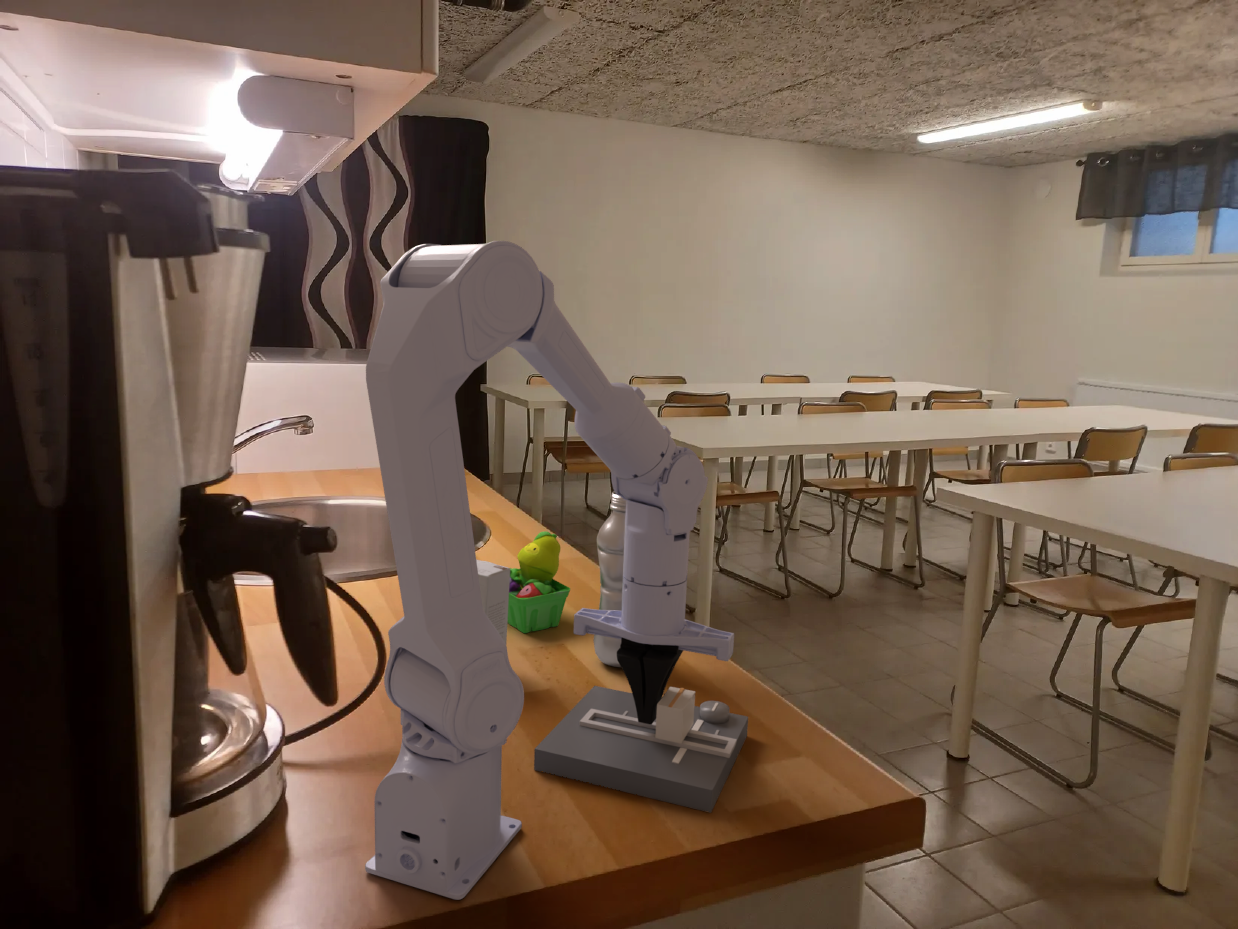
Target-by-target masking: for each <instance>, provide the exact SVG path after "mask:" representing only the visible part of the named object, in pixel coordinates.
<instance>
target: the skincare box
mask: <svg viewBox="0 0 1238 929" xmlns="http://www.w3.org/2000/svg"><path fill="white" fill-rule="evenodd" d="M476 561H477V569H478V577H479V584H480V592H481V599H482V607H483V610H484V612H485V613H486V615H487V617H488V618H489V620H490V621H491V623H492V624H493V625H494V627H495V628H496V630H497V631H498V633H499V634H500V636H501V637H502V639H503V640H504V642H505V644H506V645H507V642H508V640H507V638H508V601H509V582H510V568H511V567H507V566H504V565H500V564H496V563H494V562H490V561H488V560H487V561H486V560H480V559H477V558H476Z"/></svg>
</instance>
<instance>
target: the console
mask: <svg viewBox="0 0 1238 929" xmlns="http://www.w3.org/2000/svg"><path fill="white" fill-rule="evenodd" d="M748 727H749V716H747V715H742V714H738V713H737V714H736V713H733V712H732V713H731V712H730V707H729V705H727V704H726V703H724V702H723V701H719V700H707V701H704V702H702V703H701V704H700V705H699V706H698V705H697V706H696V705H694V721H693V725H692V727H691V728H690V730H689V732H688V733H687V735H686V737H685V738H684V740H683V741H682V743H676V742H671V741H667V740H662V739H658V738H655V734H656V719H655V721H654V722H653V723H652V724H645V723H641V722H638V717H637V711H636V706H635V702H634V698H633V694H632V692H628V691H624V690H618V689H612V688H608V687H603V686H598V685H594V686H593V687H591V689H590V690H589V691H588V692H587V693H586V694H585V695H584V696H583V697H582V698H580V700H579V701H578V702H577V703H576V704H575V705H574V706H573V708H571V709H570V711H569V712H568V713H567V714H566V715H565V716H564V717H563V718H562V719H561V720H560V722H558V724H557V725H555V727H554V728H553V729H552V730H551V731H550V732H548V734H547V735H546V736H545V737H544V738H543V739H542V740H541V742H540V743H538V745H537V746H536V747H535V748H534V751H533V752H534V755H533V756H534V758H533V759H534V760H533V762H534V764H533V770H534V771H537V772H541V771H543V772H542V773H545V772H546V773H545V774H549V773H551V775H554V774H555V775H554V776H558V777H562V776H563V778H566V777H567V779H570V780H574V779H576V780H575V781H578V780H580V781H579V782H582V781H583V783H586V782H589V783H588V784H591V783H592V784H591V785H595V786H599V785H601V786H600V787H603V786H604V788H607V787H608V789H611V788H612V790H615V789H616V790H615V791H619V790H620V791H621V792H625V793H628V794H631V795H632V794H633V795H636V794H637V795H636V796H641V797H645V798H647V799H648V798H649V799H652V800H657V801H661V802H666V803H669V804H674V805H678V806H682V807H686V808H690V809H695V810H699V811H703V812H707V813H712V812H713V809H714V807H715V805H716V803H717V800H718V798H719V797H720V795H721V792H722V790H723V788H724V787H725V784H726V782H727V780H728V777H729V776H730V772H732V769H733V767H734V764H735V763H736V760H737V758H738V756H739V754H740V752H741V750H742V748H743V746H744V743H745V741H746V739H747V737H748Z"/></svg>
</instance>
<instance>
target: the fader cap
mask: <svg viewBox="0 0 1238 929" xmlns="http://www.w3.org/2000/svg"><path fill="white" fill-rule="evenodd" d="M695 704H696V691H695V690H691V689H690V690H689V689H685V687H680V688H679V687H675V686H669V687H668V689H667V691H665V693H663V696H662V698H661V700H660V701H659V703H658V704H657V715H656V734H655V738H658V739H662V740H667V741H671V742H676V743H682V741H683V740H684V738H685V737H686V735H687V733H688V732H689V730H690V728H691V727H692V725H693V721H694V706H695Z"/></svg>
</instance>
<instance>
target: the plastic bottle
mask: <svg viewBox="0 0 1238 929" xmlns="http://www.w3.org/2000/svg"><path fill="white" fill-rule="evenodd" d="M610 502H611V503H610V504H609V509H610V510H611V511H612V513H611V514H610V515H609V517H608V518H606V519H605V521H604V522H603V524H602V525H601V527H600V528H599V531H598V533H597V536H596V546H597V548H596V549H597V555H598V563H599V565H598V566H599V583H600V591H599V592H600V597H599V604H598V610H618V611H622V587H623V562H624V539H625V515H626V500H625V499H623V498H622V497H621V496H619V495H616V494H615V492H614V490H613V491H612V492H611V497H610ZM620 644H621V639H616V638H611V637H605V636H599V635H594V634H593V646H594V652H595V655H596V657H597V658H598V660H599V661H600V662H602V663H603V664H604V665H608V666H611V667H615V668H622V667H621V666H620V664H619V662H618V661H617V651H618V649H619V648H620Z"/></svg>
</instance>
